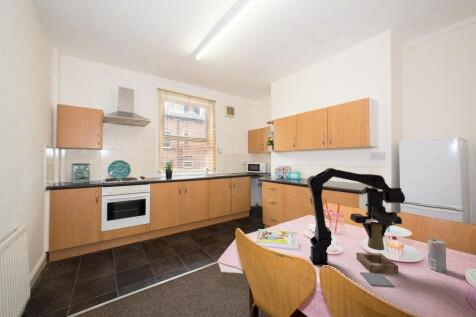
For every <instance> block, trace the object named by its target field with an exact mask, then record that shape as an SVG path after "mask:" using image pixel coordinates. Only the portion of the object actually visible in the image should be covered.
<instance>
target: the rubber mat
mask: <svg viewBox="0 0 476 317" xmlns="http://www.w3.org/2000/svg"><path fill="white" fill-rule="evenodd" d="M359 274H360V275H361V276H362V277H363V279H365V280H366V282H367V283H368V284H369V285H370V286H372V287H385V288H386V287H387V288H388V287H390V288H395V284H393V283H392V282H391V280H389V279H388V278H387V277H386V276H385V275H383V273H371V272H369V271H368V272H363V271H361V272H359Z"/></svg>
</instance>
